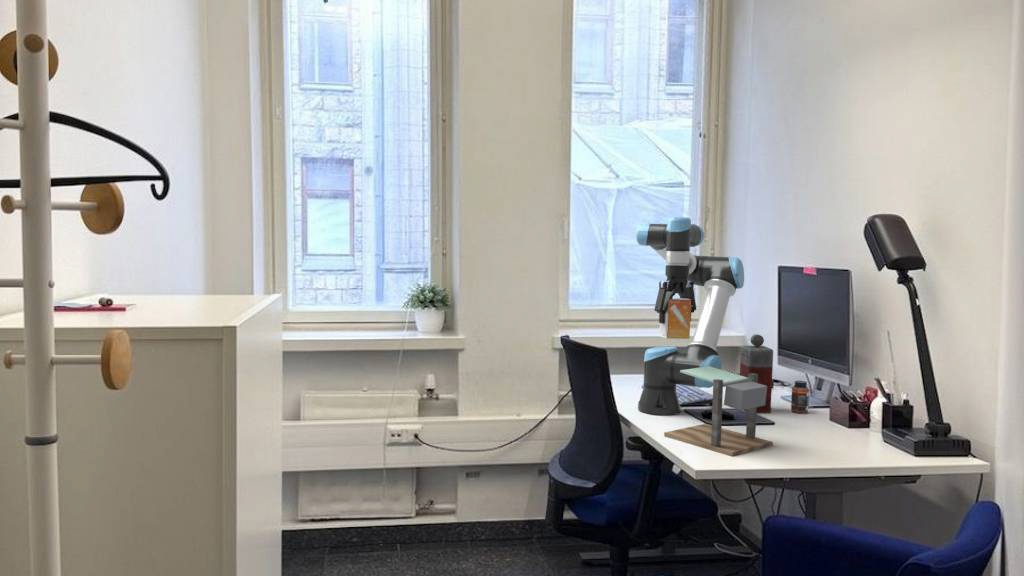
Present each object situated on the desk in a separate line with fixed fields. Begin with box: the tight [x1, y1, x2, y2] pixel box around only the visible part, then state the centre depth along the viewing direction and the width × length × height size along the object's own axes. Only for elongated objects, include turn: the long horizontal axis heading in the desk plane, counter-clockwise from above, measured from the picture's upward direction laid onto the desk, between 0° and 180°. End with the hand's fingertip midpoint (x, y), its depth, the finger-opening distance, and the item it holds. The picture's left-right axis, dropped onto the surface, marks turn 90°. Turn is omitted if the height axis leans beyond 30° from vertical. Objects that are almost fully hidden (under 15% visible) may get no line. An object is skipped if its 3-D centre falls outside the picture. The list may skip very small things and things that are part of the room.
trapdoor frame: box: [663, 373, 774, 457], centre depth 238 cm, size 20×26×21 cm
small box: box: [659, 297, 692, 340], centre depth 250 cm, size 8×6×13 cm
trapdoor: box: [680, 366, 767, 411], centre depth 236 cm, size 14×23×7 cm, turn 37°
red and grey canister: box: [739, 333, 774, 414], centre depth 281 cm, size 9×11×28 cm
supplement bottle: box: [790, 380, 810, 414], centre depth 279 cm, size 6×6×11 cm
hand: (674, 332), depth 251 cm, fingers closed on small box, 10 cm apart
